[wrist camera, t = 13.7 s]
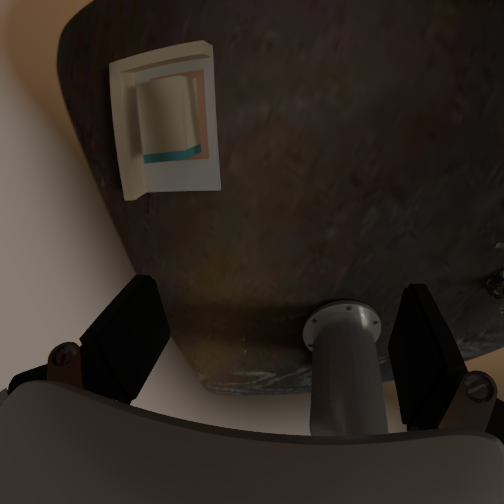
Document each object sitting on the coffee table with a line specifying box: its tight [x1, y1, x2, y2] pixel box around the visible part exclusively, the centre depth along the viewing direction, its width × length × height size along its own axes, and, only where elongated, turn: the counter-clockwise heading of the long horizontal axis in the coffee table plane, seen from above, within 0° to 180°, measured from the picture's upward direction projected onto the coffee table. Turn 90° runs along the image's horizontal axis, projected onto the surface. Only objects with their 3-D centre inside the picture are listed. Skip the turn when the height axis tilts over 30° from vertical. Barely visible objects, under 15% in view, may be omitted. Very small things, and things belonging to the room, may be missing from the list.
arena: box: [109, 40, 221, 200], centre depth 29 cm, size 18×12×4 cm, turn 2°
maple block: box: [136, 76, 201, 164], centre depth 28 cm, size 5×9×5 cm, turn 2°
